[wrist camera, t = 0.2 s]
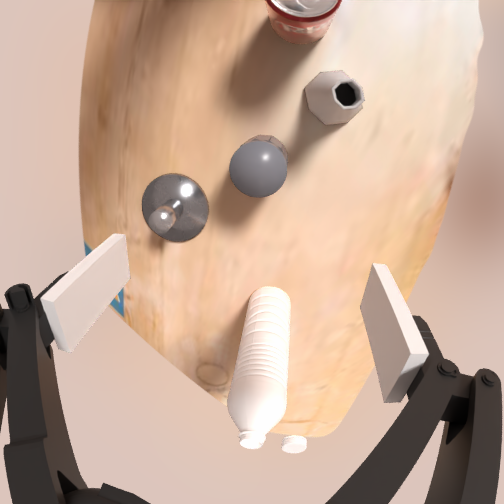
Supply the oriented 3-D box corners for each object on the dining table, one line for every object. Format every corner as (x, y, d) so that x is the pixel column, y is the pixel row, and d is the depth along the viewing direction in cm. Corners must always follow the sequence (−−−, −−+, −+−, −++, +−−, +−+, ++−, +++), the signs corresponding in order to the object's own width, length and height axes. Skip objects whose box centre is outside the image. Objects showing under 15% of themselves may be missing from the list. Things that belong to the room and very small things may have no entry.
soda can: (262, 5, 29) (250, -31, 19) (316, -9, 28) (325, -48, 17) (282, 52, 32) (278, 29, 22) (337, 38, 30) (355, 11, 20)
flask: (322, 134, 37) (332, 142, 28) (294, 84, 34) (295, 77, 25) (371, 111, 34) (396, 113, 25) (344, 61, 32) (361, 47, 23)
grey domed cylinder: (242, 133, 38) (231, 139, 30) (289, 137, 37) (289, 144, 30) (239, 178, 40) (227, 194, 33) (285, 182, 40) (283, 200, 33)
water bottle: (249, 317, 50) (220, 454, 28) (249, 283, 47) (216, 425, 25) (302, 321, 49) (301, 461, 27) (307, 287, 47) (311, 433, 24)
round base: (142, 172, 41) (122, 182, 36) (209, 175, 41) (197, 186, 35) (145, 236, 46) (128, 253, 40) (208, 243, 45) (197, 262, 40)
